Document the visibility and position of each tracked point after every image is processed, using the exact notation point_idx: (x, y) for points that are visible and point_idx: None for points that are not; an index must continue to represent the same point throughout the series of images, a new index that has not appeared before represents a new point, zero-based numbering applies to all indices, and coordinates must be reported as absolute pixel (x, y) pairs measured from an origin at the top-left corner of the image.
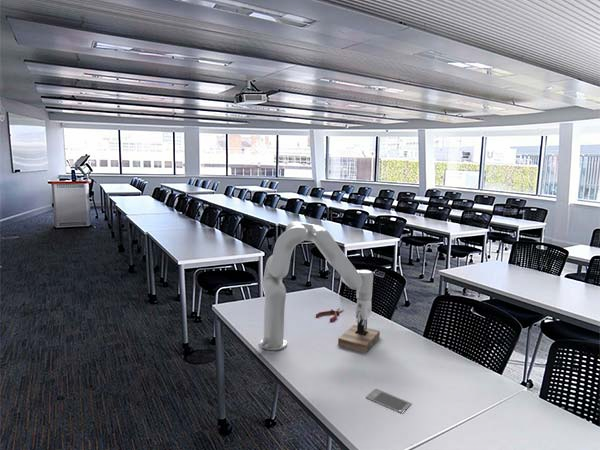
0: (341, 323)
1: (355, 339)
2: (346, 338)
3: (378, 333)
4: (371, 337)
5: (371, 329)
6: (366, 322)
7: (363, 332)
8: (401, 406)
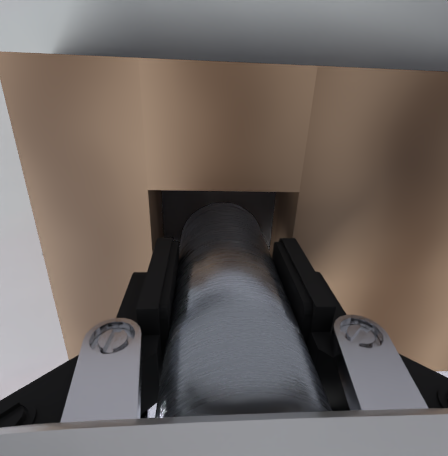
0: None
1: (446, 248)
2: (446, 322)
3: (72, 56)
4: (317, 96)
5: (49, 187)
6: (159, 309)
7: (260, 236)
8: None
